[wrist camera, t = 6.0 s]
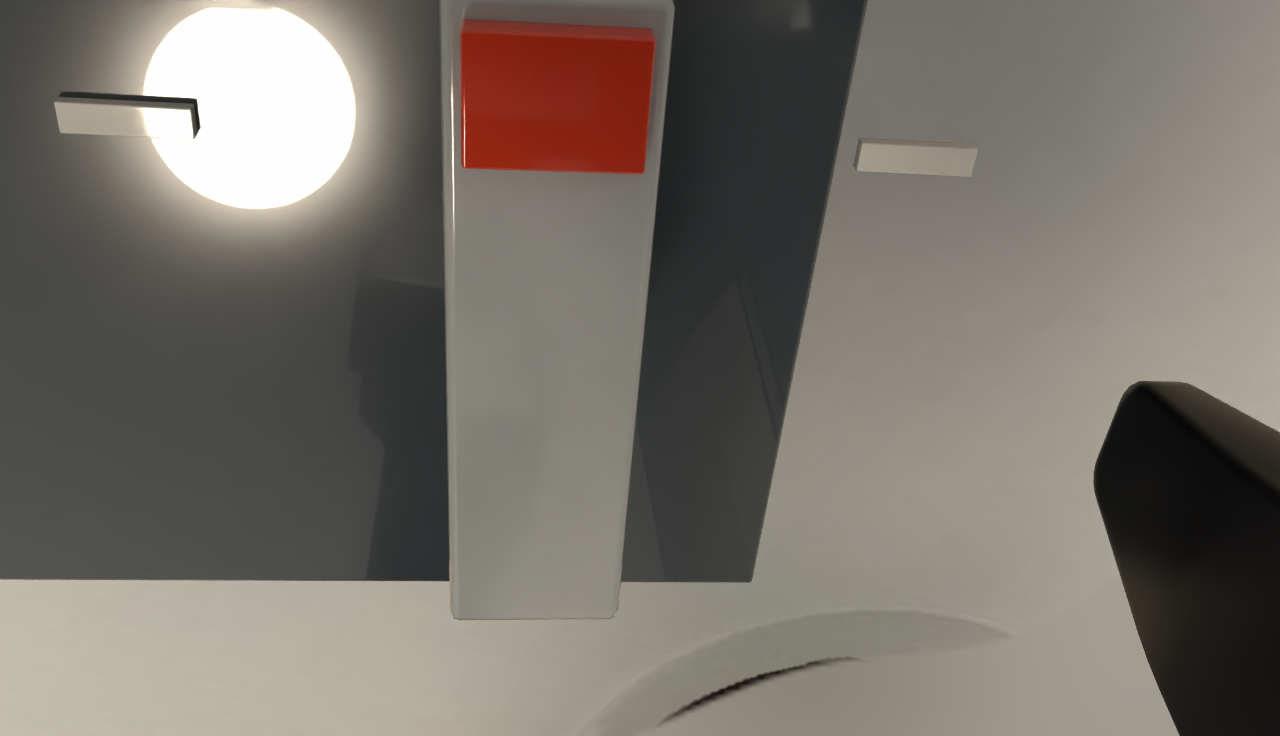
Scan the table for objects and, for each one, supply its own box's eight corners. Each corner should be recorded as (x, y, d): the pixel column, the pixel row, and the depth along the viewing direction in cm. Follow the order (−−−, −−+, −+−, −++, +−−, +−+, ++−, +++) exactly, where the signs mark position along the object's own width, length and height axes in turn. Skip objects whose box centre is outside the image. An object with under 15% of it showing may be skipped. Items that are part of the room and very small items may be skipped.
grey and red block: (592, 360, 15) (619, 641, 11) (466, 357, 15) (449, 643, 11) (626, -143, 12) (681, 10, 8) (462, -154, 11) (435, -3, 8)
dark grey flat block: (815, 459, 20) (859, 592, 18) (44, 445, 19) (-32, 589, 16) (1046, -576, 12) (1185, -609, 10) (-251, -745, 11) (-490, -837, 8)
